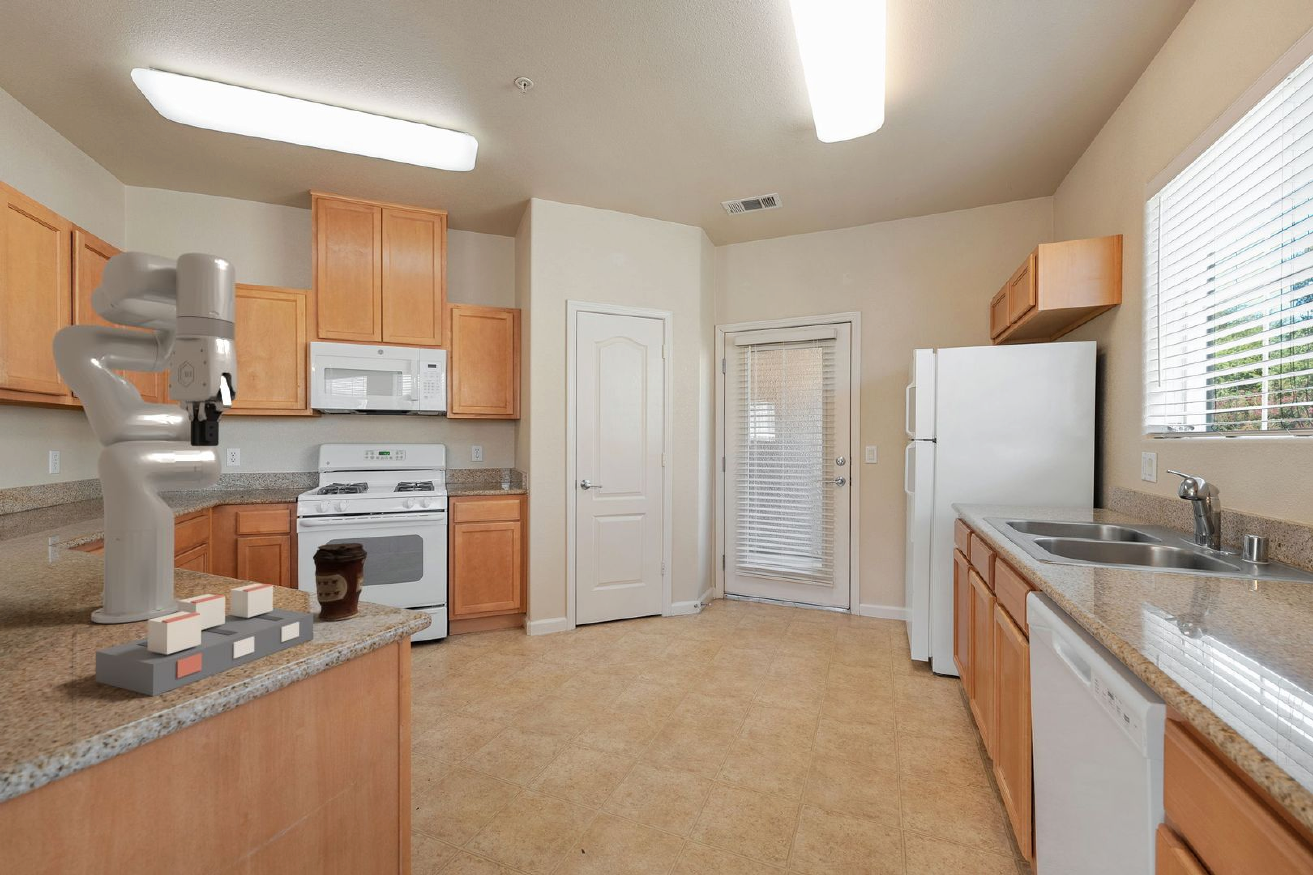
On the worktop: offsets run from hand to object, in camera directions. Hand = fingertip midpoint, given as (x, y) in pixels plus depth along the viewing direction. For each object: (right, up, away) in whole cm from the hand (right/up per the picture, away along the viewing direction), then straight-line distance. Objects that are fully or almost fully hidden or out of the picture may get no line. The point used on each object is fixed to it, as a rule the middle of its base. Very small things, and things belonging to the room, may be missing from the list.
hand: (204, 445), depth 92 cm
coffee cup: (+16, -32, +11) cm, 37 cm away
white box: (+9, -27, -16) cm, 32 cm away
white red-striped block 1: (+6, -27, -7) cm, 28 cm away
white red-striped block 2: (+8, -27, -1) cm, 28 cm away
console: (+8, -31, -9) cm, 33 cm away
